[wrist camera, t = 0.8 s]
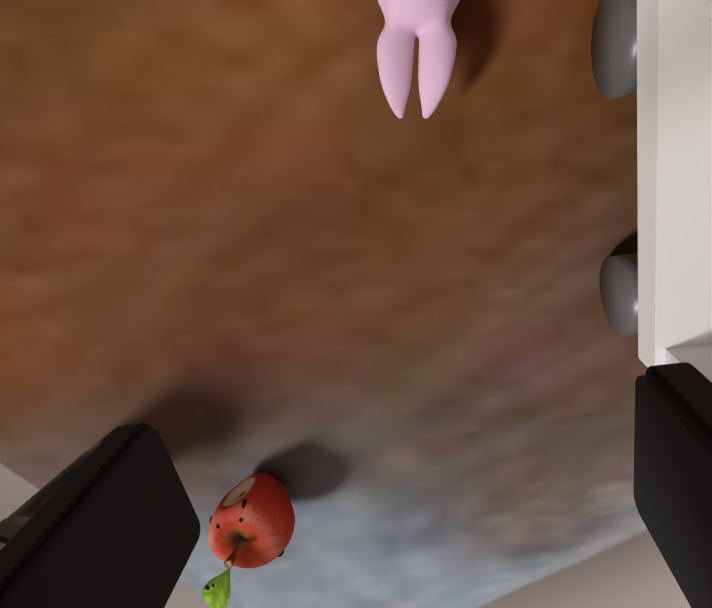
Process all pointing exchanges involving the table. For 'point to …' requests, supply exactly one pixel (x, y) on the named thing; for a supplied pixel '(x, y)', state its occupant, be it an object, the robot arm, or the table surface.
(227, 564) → the apple
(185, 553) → the robot arm
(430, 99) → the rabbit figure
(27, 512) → the beverage cup
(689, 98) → the trolley
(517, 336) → the table surface
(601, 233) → the table surface
